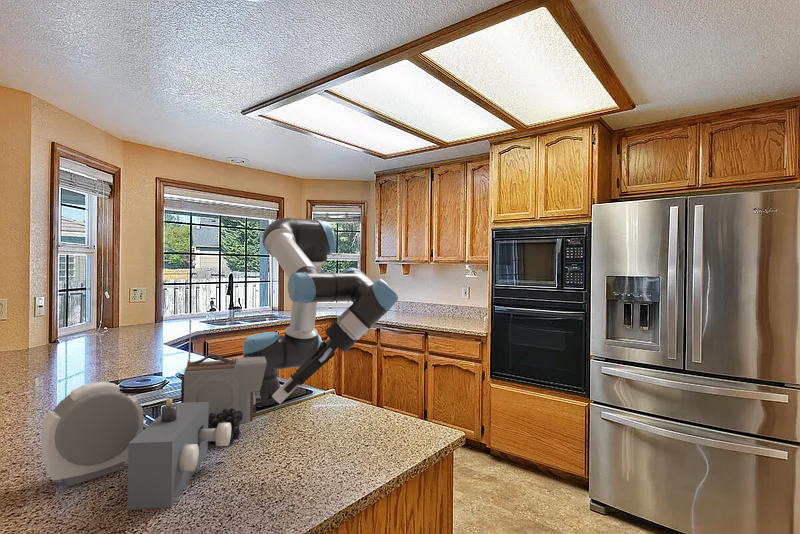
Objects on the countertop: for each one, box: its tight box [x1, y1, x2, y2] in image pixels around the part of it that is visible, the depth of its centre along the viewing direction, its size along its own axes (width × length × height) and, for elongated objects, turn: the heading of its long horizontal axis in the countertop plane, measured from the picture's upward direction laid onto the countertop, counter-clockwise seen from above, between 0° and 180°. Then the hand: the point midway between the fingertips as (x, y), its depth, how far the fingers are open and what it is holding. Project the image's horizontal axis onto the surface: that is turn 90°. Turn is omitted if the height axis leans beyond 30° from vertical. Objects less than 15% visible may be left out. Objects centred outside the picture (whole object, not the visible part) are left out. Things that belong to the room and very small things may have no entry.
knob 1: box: [178, 444, 199, 472], centre depth 89 cm, size 5×7×5 cm
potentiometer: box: [160, 398, 177, 423], centre depth 95 cm, size 3×3×5 cm
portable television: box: [179, 319, 267, 424], centre depth 131 cm, size 12×24×30 cm, turn 112°
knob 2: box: [198, 423, 231, 447], centre depth 102 cm, size 5×7×5 cm
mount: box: [126, 402, 209, 511], centre depth 95 cm, size 24×8×13 cm, turn 9°
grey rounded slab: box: [40, 381, 145, 487], centre depth 96 cm, size 18×8×20 cm, turn 141°
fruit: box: [208, 408, 245, 444], centre depth 115 cm, size 9×8×15 cm
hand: (276, 399), depth 103 cm, fingers closed
